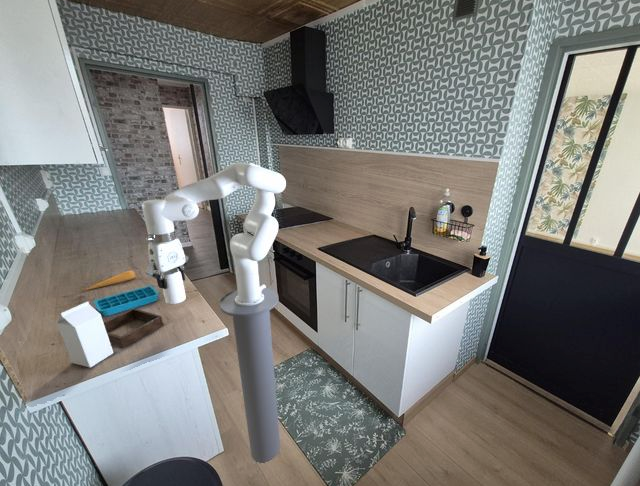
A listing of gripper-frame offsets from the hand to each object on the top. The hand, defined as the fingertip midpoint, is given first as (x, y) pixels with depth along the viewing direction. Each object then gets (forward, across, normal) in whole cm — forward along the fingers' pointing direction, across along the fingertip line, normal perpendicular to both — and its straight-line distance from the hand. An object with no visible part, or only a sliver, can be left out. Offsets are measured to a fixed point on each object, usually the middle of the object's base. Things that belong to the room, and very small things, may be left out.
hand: (172, 283), depth 105 cm
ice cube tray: (+18, +3, +32) cm, 37 cm away
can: (+7, 0, 0) cm, 7 cm away
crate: (+18, -10, +13) cm, 24 cm away
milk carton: (+18, -24, +9) cm, 31 cm away
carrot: (+18, +12, +57) cm, 61 cm away
